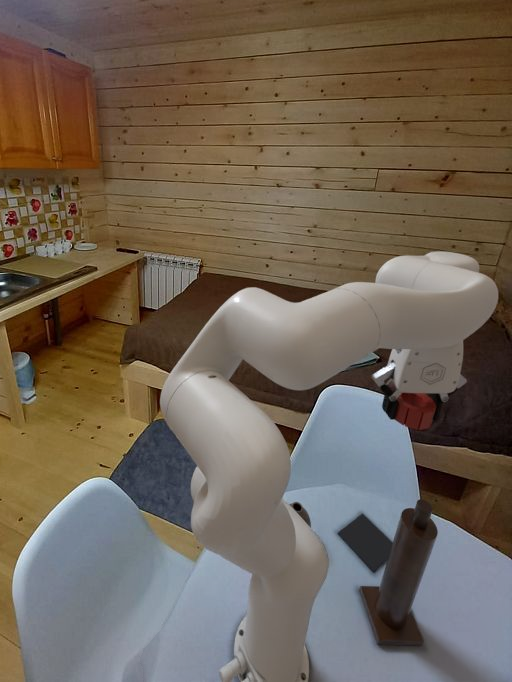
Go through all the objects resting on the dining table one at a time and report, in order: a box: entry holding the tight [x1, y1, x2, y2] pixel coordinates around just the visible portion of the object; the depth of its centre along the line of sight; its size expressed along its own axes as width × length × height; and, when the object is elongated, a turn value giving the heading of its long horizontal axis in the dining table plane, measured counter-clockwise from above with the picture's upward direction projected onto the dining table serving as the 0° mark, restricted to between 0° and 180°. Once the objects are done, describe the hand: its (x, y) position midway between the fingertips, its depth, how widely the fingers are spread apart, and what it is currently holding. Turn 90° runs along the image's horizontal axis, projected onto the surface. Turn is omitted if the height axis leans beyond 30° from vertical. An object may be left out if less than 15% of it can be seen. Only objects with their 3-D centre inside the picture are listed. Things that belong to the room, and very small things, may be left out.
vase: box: [288, 501, 312, 529], centre depth 76 cm, size 7×7×9 cm
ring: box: [394, 392, 436, 431], centre depth 61 cm, size 7×7×4 cm
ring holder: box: [358, 498, 439, 646], centre depth 59 cm, size 8×8×29 cm
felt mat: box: [337, 513, 393, 573], centre depth 77 cm, size 9×9×1 cm
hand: (409, 413), depth 62 cm, fingers closed on ring, 7 cm apart
